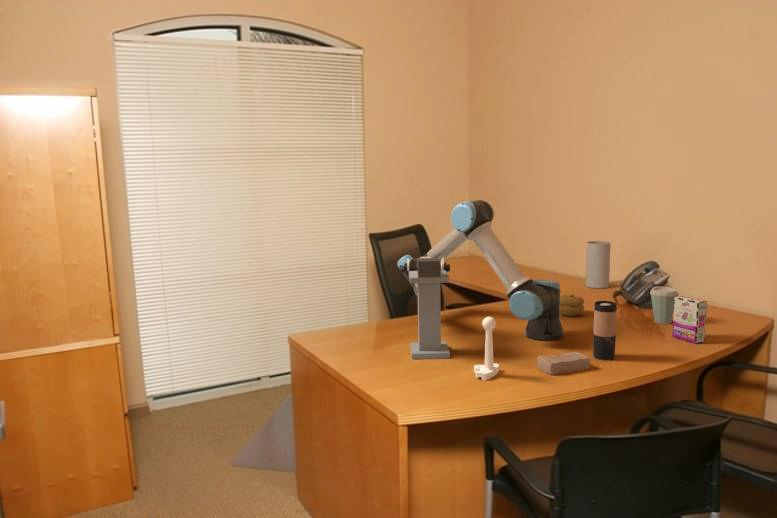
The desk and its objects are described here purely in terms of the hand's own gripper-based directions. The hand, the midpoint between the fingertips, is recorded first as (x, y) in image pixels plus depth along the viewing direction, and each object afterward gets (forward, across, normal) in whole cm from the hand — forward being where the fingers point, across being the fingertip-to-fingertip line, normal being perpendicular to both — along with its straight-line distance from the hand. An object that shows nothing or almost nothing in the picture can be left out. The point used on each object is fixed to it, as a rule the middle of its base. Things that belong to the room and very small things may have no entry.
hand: (425, 261), depth 229 cm
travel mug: (+2, -62, -40) cm, 74 cm away
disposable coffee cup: (-36, -103, -18) cm, 111 cm away
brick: (+11, -45, -46) cm, 65 cm away
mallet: (+4, 0, -6) cm, 7 cm away
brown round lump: (-50, -69, -10) cm, 85 cm away
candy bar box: (-14, -102, -31) cm, 107 cm away
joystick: (+15, -17, -47) cm, 52 cm away
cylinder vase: (-102, -102, +20) cm, 145 cm away
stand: (-7, 0, -34) cm, 35 cm away
